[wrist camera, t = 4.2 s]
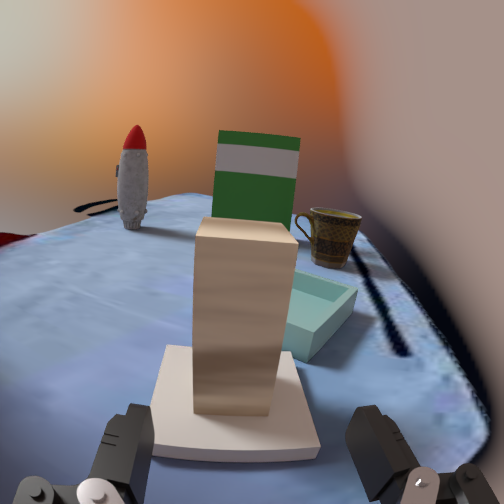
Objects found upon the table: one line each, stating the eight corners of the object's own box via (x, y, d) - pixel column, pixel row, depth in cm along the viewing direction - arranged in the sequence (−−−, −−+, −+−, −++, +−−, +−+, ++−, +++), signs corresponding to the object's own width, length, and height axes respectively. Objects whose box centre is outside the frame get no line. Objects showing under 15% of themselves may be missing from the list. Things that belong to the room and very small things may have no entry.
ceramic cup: (340, 256, 64) (348, 210, 61) (361, 272, 54) (371, 220, 51) (283, 253, 62) (289, 204, 59) (296, 270, 52) (304, 213, 49)
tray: (306, 363, 27) (313, 332, 26) (198, 312, 34) (199, 285, 33) (352, 312, 38) (358, 288, 37) (264, 282, 45) (267, 260, 44)
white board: (315, 458, 16) (320, 446, 16) (144, 454, 15) (141, 441, 15) (288, 364, 27) (290, 351, 26) (167, 357, 25) (167, 344, 25)
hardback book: (210, 236, 69) (219, 130, 62) (216, 229, 76) (224, 133, 69) (287, 245, 68) (300, 137, 61) (286, 237, 75) (298, 140, 68)
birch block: (268, 416, 18) (298, 243, 15) (193, 413, 18) (195, 235, 14) (261, 371, 23) (281, 222, 20) (198, 368, 22) (203, 216, 19)
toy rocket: (119, 223, 73) (124, 126, 65) (149, 224, 74) (155, 126, 67) (111, 230, 65) (116, 123, 58) (144, 231, 67) (150, 123, 60)
